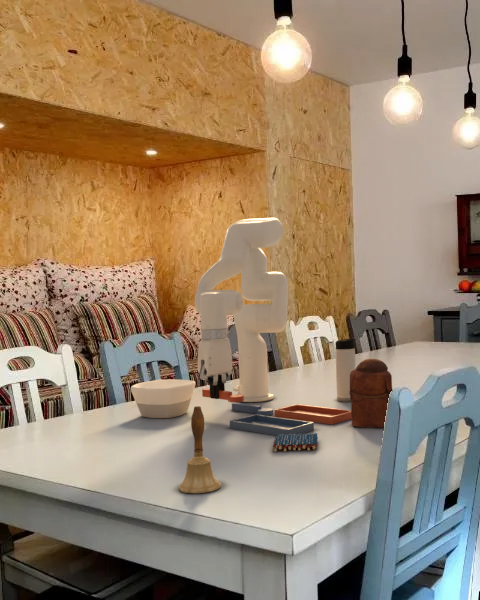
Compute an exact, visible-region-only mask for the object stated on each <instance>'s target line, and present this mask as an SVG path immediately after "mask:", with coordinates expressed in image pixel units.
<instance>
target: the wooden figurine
mask: <svg viewBox="0 0 480 600" xmlns="http://www.w3.org/2000/svg"><path fill="white" fill-rule="evenodd" d="M392 377H393V376H392V374H391V372H390V371H389V368H388V365H387V364H386V363H385V362H384V361H382V360H381V359H377V358H366V359H364V360H361V361H360V362H359V363H358V365H356V369H354V370H352V371H351V373H350V399H351V401H350V403H351V406H350V407H351V408H350V409H351V410H350V411H351V414H352V419H351V426H353V427H357V428H378V429H379V428H383V429H385V428H384V422H385V416H386V410H387V403H388V398H389V394H390V392H391V391H392V392H393V380H392V379H393V378H392Z"/></svg>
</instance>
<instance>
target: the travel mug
mask: <svg viewBox="0 0 480 600" xmlns="http://www.w3.org/2000/svg"><path fill="white" fill-rule="evenodd" d="M356 340H357V338H356V337H352V338H345V339H339V340H336V341H335V378H336V401H338V402H343V403H344V402H345V403H346V402H347V403H349V402H351V399H350V373H351V371H352V370H354V369H356V367H357V365H356V346H355V345H356V344H355V343H356V342H355V341H356Z"/></svg>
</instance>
